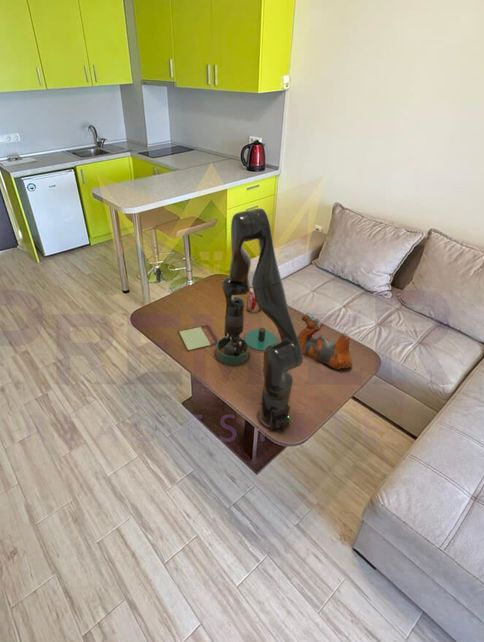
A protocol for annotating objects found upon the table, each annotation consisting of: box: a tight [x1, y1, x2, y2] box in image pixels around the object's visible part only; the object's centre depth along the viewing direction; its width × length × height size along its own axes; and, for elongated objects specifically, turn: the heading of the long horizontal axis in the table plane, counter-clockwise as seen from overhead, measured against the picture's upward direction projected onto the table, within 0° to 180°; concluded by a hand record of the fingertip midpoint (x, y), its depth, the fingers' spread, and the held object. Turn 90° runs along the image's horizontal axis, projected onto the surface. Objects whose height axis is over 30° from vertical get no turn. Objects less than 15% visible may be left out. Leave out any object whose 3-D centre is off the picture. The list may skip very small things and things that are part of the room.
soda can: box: [246, 286, 261, 313], centre depth 184 cm, size 7×7×12 cm
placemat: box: [178, 326, 212, 351], centre depth 168 cm, size 14×14×1 cm
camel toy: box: [297, 312, 353, 370], centre depth 154 cm, size 25×13×17 cm, turn 37°
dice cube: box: [224, 340, 241, 356], centre depth 157 cm, size 5×5×5 cm
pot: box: [215, 336, 250, 366], centre depth 157 cm, size 14×14×5 cm
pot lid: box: [244, 327, 279, 352], centre depth 165 cm, size 15×15×7 cm
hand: (232, 352), depth 157 cm, fingers closed on dice cube, 7 cm apart
